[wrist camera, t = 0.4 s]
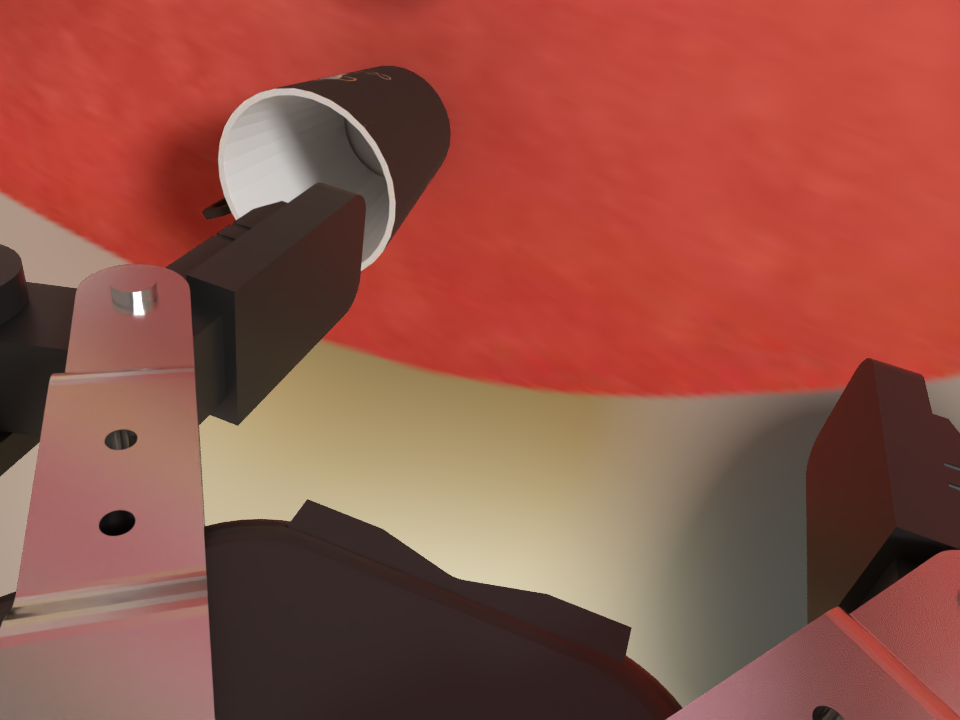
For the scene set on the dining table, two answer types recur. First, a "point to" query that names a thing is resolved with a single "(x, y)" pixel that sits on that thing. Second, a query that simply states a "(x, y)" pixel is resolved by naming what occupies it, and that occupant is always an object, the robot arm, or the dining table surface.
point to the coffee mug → (337, 146)
